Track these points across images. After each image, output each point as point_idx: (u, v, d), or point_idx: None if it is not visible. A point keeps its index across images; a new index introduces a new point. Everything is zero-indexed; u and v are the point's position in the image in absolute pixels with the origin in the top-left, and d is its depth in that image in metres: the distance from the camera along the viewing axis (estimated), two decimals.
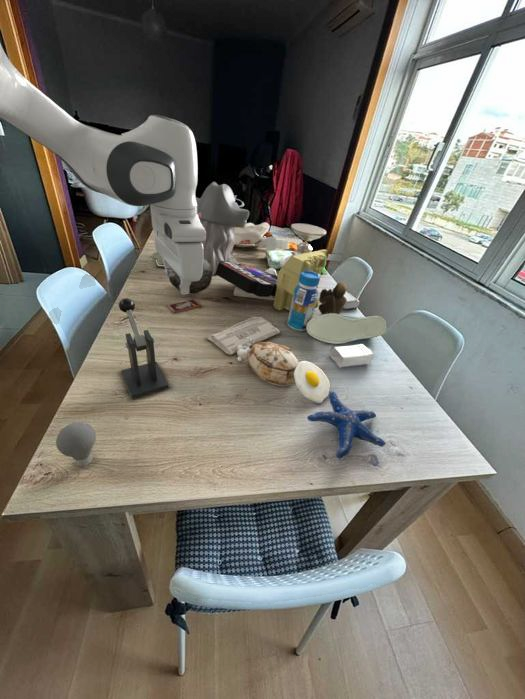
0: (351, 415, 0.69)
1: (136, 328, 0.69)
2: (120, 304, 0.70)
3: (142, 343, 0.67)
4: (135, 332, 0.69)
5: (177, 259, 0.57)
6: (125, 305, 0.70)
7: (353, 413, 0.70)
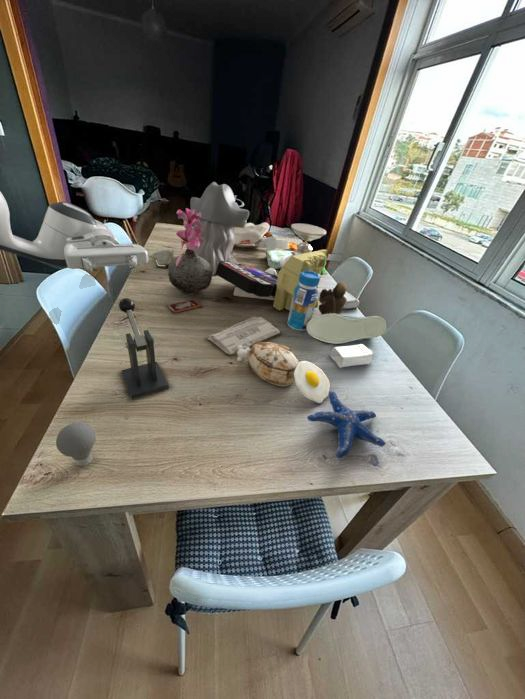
0: (351, 415, 0.69)
1: (136, 328, 0.69)
2: (120, 304, 0.70)
3: (142, 343, 0.67)
4: (135, 332, 0.69)
5: None
6: (125, 305, 0.70)
7: (353, 413, 0.70)
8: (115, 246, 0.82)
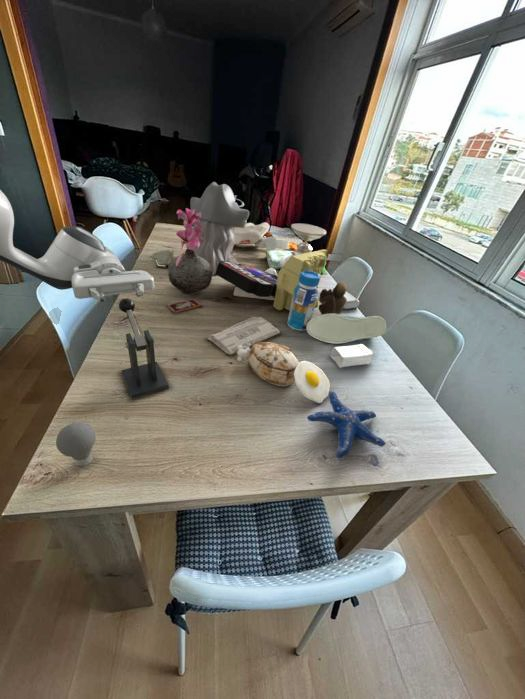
0: (351, 415, 0.69)
1: (136, 328, 0.69)
2: (120, 304, 0.70)
3: (142, 343, 0.67)
4: (135, 332, 0.69)
5: None
6: (125, 305, 0.70)
7: (353, 413, 0.70)
8: (122, 274, 0.82)
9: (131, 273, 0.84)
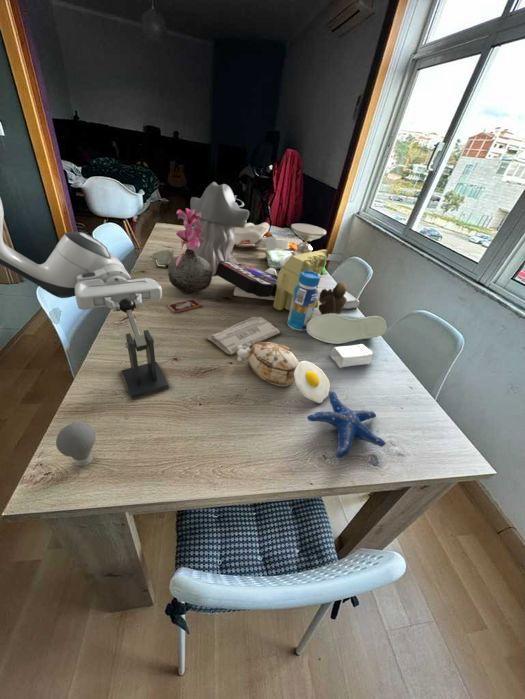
0: (351, 415, 0.69)
1: (136, 328, 0.69)
2: (120, 304, 0.70)
3: (142, 343, 0.67)
4: (135, 332, 0.69)
5: None
6: (125, 305, 0.70)
7: (353, 413, 0.70)
8: (127, 282, 0.78)
9: (137, 281, 0.79)
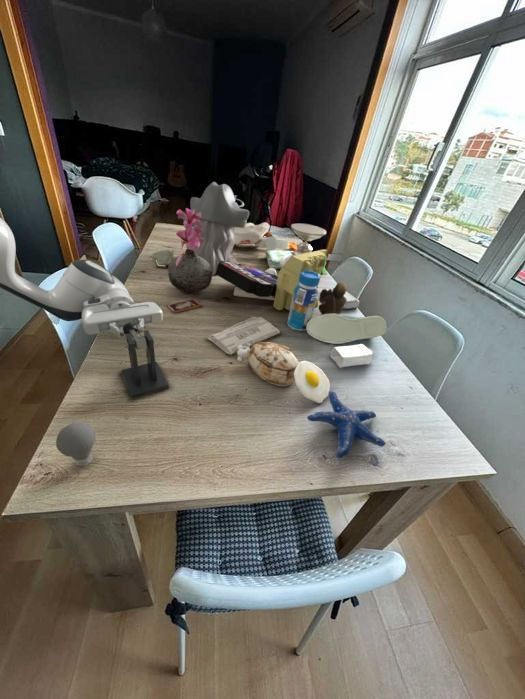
0: (351, 415, 0.69)
1: (137, 336, 0.71)
2: (123, 327, 0.75)
3: (141, 339, 0.67)
4: None
5: None
6: (127, 326, 0.75)
7: (353, 413, 0.70)
8: (130, 306, 0.83)
9: (140, 305, 0.84)
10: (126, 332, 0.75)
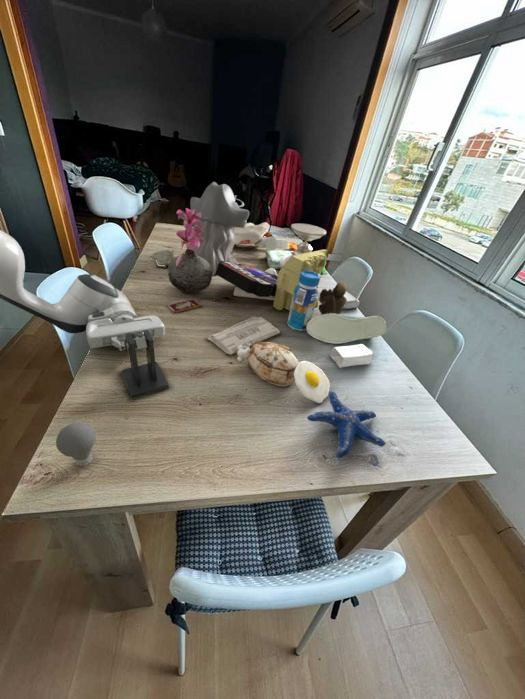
0: (351, 415, 0.69)
1: None
2: (125, 338, 0.76)
3: (140, 338, 0.67)
4: None
5: None
6: None
7: (353, 413, 0.70)
8: (133, 320, 0.85)
9: (142, 319, 0.86)
10: None
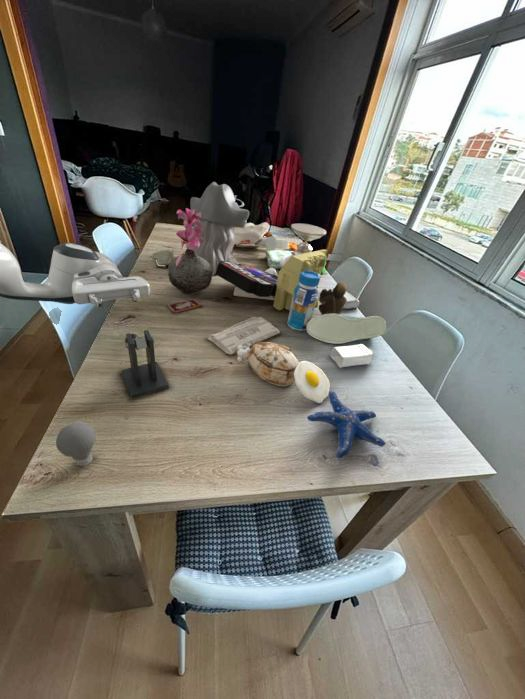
0: (351, 415, 0.69)
1: None
2: (125, 338, 0.76)
3: (140, 338, 0.67)
4: None
5: None
6: None
7: (353, 413, 0.70)
8: (119, 280, 0.88)
9: (128, 279, 0.89)
10: None
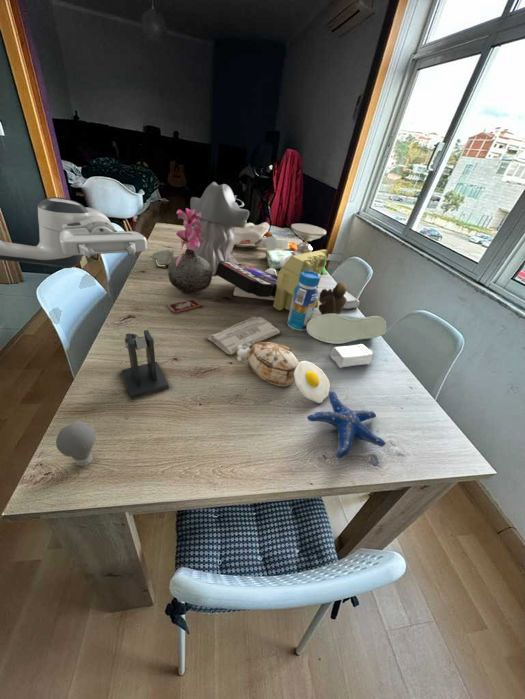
0: (351, 415, 0.69)
1: None
2: (125, 338, 0.76)
3: (140, 338, 0.67)
4: None
5: None
6: None
7: (353, 413, 0.70)
8: (113, 233, 0.79)
9: (123, 233, 0.81)
10: None
